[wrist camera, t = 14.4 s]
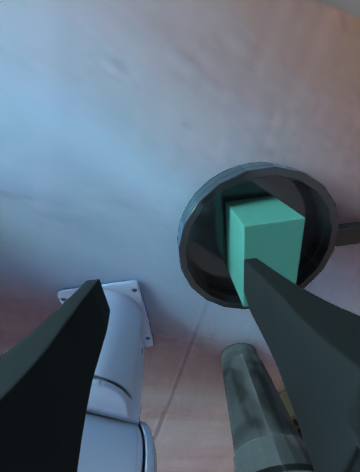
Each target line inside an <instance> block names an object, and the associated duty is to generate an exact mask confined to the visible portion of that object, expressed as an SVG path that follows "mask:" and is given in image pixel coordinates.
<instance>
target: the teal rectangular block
mask: <svg viewBox="0 0 360 472" xmlns="http://www.w3.org/2000/svg"><path fill="white" fill-rule="evenodd" d="M225 204H226V235H227V266H228V272H229V274H230V277H231V279H232V281H233V284H234V286H235V288H236V291H237V293H238V295H239V298H240V300H241V302H242V305H243V307H247V306H248V303H247V300H246V297H245V294H244V259H251V258H257V259H259V260H260V261H262V262H263V263H265V264H266V265H267V266H269V267H270V268H272V269H273V270H275V271H276V272H278V273H279V274H281V275H282V276H284V277H285V278H287V279H288V280H290V281H291V282H293V283H295V284H296V282H297V274H298V267H299V260H300V253H301V246H302V239H303V232H304V225H305V217H303V216H302V215H300V214H299V213H297V212H296V211H295V210H293V209H292V208H290V207H289V206H287V205H286V204H284V203H283V202H281V201H280V200H279V199H277V198H276V197H274V196H264V197H257V198H250V199H243V200H235V201H228V202H226V203H225Z"/></svg>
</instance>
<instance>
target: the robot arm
mask: <svg viewBox="0 0 360 472" xmlns="http://www.w3.org/2000/svg"><path fill="white" fill-rule="evenodd" d="M133 288H136V290H134V289H133ZM244 294H245V297H246V300H247V303H248V306H249V309H250V311H251V313H252V315H253V317H254V319H255V321H256V323H257V325H258V327H259V329H260V331H261V333H262V335H263V337H264V339H265V341H266V343H267V345H268V347H269V349H270V351H271V353H272V355H273V358H274V360H275V362H276V365H277V367H278V370H279V372H280V375H281V378H282V380H283V383H284V385H285V388H286V391H287V394H288V396H289V399H290V402H291V404H292V407H293V410H294V413H295V416H296V418H297V421H298V424H299V427H300V430H301V433H302V436H303V438H304V442H305V445H306V448H307V451H308V454H309V457H310V460H311V463H312V466H313V469H314V472H360V316H359V315H356V314H354V313H351V312H349V311H347V310H344V309H342V308H340V307H338V306H335V305H333V304H331V303H329V302H327V301H325V300H323V299H321V298H319V297H317V296H315V295H313V294H312V293H310V292H308V291H306V290H305V289H303V288H301V287H299V286H298V285H296V284H295V283H293V282H291V281H290V280H288V279H287V278H285V277H284V276H282V275H281V274H279V273H278V272H276V271H275V270H273V269H272V268H270V267H269V266H267V265H266V264H265V263H263V262H262V261H260V260H259V259H257V258H251V259H244ZM57 297H58V299H59V301H60V303H61V306H60V307H59V308H58V309H57V310H56V311H55V312H54V313H53V314H52V315H50V316H49V317H48V318H47V319H46V320H45V321H44V322H43V323H42V324H40V325H39V326H38V327H37V328H36V329H35V330H33V331H32V332H31V333H30V334H29V335H27V336H26V337H25V338H24V339H22V340H21V341H20V342H18V343H17V344H16V345H15V346H13V347H12V348H11V349H9V350H8V351H6V352H5V353H4V354H2V355H1V356H0V472H157V458H156V449H155V444H154V441H153V437H152V433H151V430H150V428H149V426H148V425H147V424H146V423H145V422H143V421H140V410H141V404H140V399H141V389H142V377H143V365H144V353H145V348H146V347H151V346H153V345H154V341H153V337H152V333H151V329H150V325H149V321H148V317H147V313H146V309H145V306H144V302H143V298H142V294H141V290H140V286H139V283H138V281H136V280H129V281H122V282H115V283H107V284H101V282H100V279H96V280H89V281H86V282H85V283H84V284H83V285H82V286H81V287H78V288H71V289H63V290H60V291H59V292H58V294H57ZM64 298H66V299H64Z"/></svg>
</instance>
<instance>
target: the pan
mask: <svg viewBox="0 0 360 472" xmlns="http://www.w3.org/2000/svg"><path fill="white" fill-rule="evenodd" d="M264 196H274V197H276V198H277V199H279V200H280V201H281V202H283V203H284V204H286V205H287V206H289V207H290V208H292V209H293V210H295V211H296V212H297V213H299V214H300V215H302V216H303V217H305V225H304V232H303V239H302V246H301V253H300V260H299V267H298V274H297V282H296V285H298V286H299V287H301V288H305V287H306V286H307V285H308V284H309V283H310V282H311V281H312V280H313V279H314V278H315V277H316V276H317V275H318V274H319V273H320V272H321V271H322V270H323V269H324V267H325V265H326V263H327V262H328V260H329V258H330V256H331V254H332V253H333V251H334V249H335V243H336V238H337V231H338V230H339V222H338V215H337V208H336V204H335V203H334V201H333V200H332V198H331V196H330V195H329V193H328V192H327V190H326V188H325V187H324V186H323V185H322V184H321V183H319V182H318V181H316V180H315V179H313V178H312V177H310V176H309V175H307V174H306V173H304V172H302V171H299V170H296V169H293V168H291V167H287V166H282V165H278V164H274V163H266V162H258V163H248V164H243V165H239V166H236V167H233V168H230V169H228V170H226V171H224V172H222V173H219V174H218V175H216V176H215V177H213V178H212V179H210V180H209V181H208V182H207V183H205V184H204V185H203V186H202V187H201V188H200V189H199V190H198V191H197V192H196V193H195V194H194V196H193V197H192V199H191V200H190V201H189V203H188V205H187V206H186V208H185V210H184V212H183V215H182V218H181V220H180V225H179V229H178V237H177V240H178V249H179V256H180V263H181V269H182V272H183V273H184V275H185V277H186V279H187V281H188V282H189V284H190V286H191V287H192V288H193V289H194V290H195V291H197V292H198V293H199V294H200V295H201V296H203V297H204V298H205V299H206V300H208V301H211V302H213V303H216V304H218V305H221V306H223V307H229V308H239V309H249V306H247V307H243V305H242V302H241V300H240V298H239V295H238V293H237V291H236V288H235V286H234V284H233V281H232V279H231V277H230V274H229V272H228V266H227V235H226V204H225V203H226V202H228V201H235V200H243V199H250V198H257V197H264Z"/></svg>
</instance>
